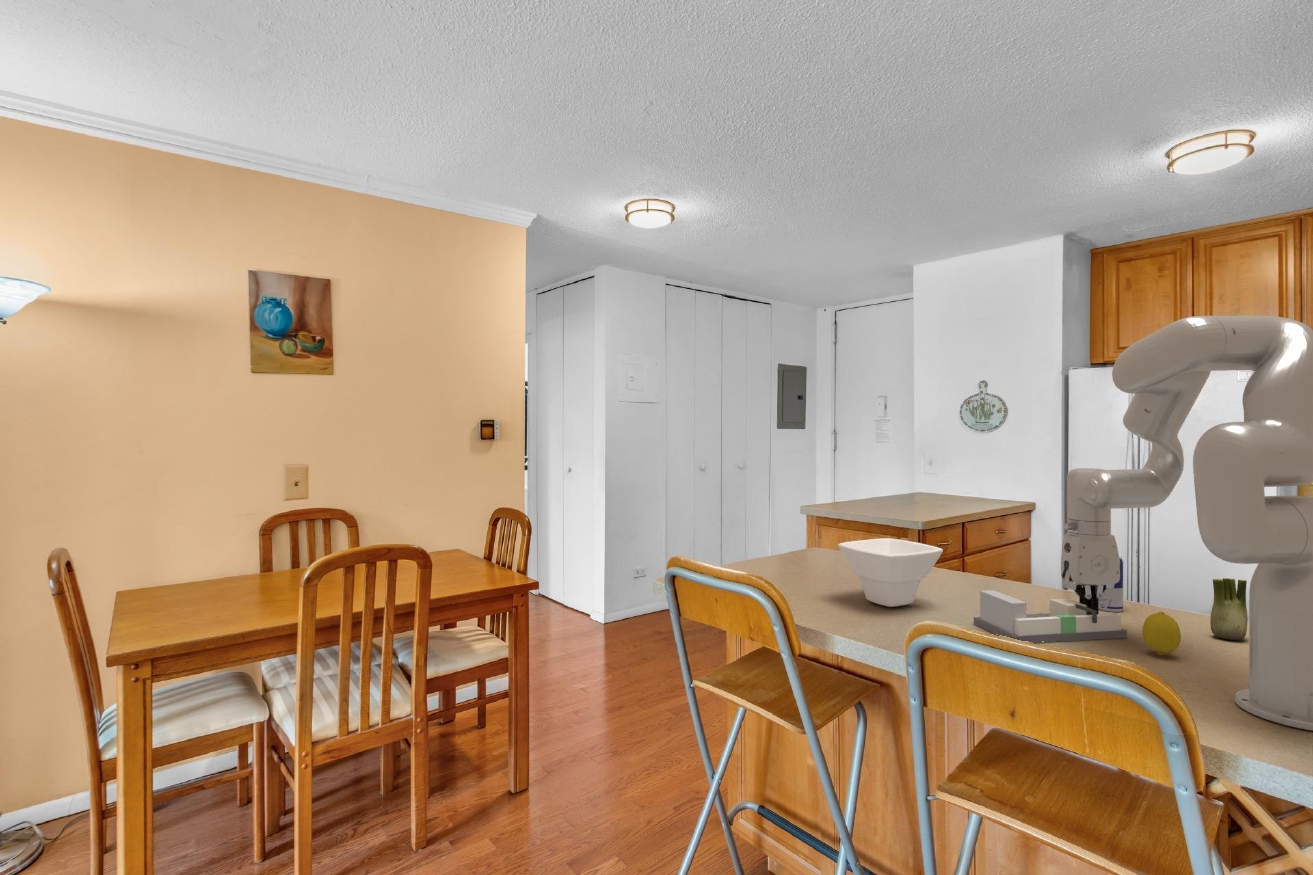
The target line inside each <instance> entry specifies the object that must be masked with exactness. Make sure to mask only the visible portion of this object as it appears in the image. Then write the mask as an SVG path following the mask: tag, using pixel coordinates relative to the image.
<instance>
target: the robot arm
mask: <svg viewBox="0 0 1313 875" xmlns="http://www.w3.org/2000/svg"><path fill="white" fill-rule="evenodd" d="M1111 371H1112V372H1111V375H1112V376H1111V377H1112V381H1113V384H1114V386H1115V387H1116V388H1117V389H1119V390H1120V391H1121V392H1122V393H1125V394H1134V395H1133V397H1132V399H1131V400H1130V403H1129V405H1128V407H1127V409H1126V410H1125V413H1124V415H1123V418H1122V423H1123V426H1124V427H1125V429H1127V430H1128V431H1129V432H1130V433H1132V435H1135V436H1137V437H1139V438H1140V439H1142V440H1145V441H1147V442H1149V443H1151V451H1150V454H1149V457H1148V458H1147V460H1146V462H1145V464H1144V466H1143V467H1142V468H1140V469H1139V468H1137V469H1133V468H1132V469H1131V468H1130V469H1102V468H1095V467H1094V468H1093V467H1091V468H1086V467H1085V468H1083V467H1082V468H1080V467H1079V468H1077V467H1076V468H1072V469H1070V470H1069V471H1068V472H1067V477H1066V478H1067V479H1066V484H1067V485H1066V491H1067V492H1066V493H1067V494H1066V495H1067V496H1066V509H1067V510H1066V514H1067V516H1066V517H1067V518H1066V523H1065V522H1064V523H1063V529H1064V530H1067V532H1066V533H1065V534H1064V538H1063V542H1062V549H1061V553H1060V554H1061V555H1060V556H1061V558H1060V575H1061V579H1063V584H1062V587H1063V588H1065V589H1067V590H1072V591H1073V592H1075V594H1076V596H1078V597H1079V599H1078V600H1079V601H1078V602H1079V603H1082V604H1085V605H1087V606H1088V608H1090V609H1093V610H1096V611H1097V614H1099V611H1100V610H1099V599H1100V598H1101V597H1102V593H1103V592H1104V591H1105V590H1106V589H1109V588H1112V587H1114V585H1115V583H1117V582H1119V580H1120V564H1119V557H1120V556H1119V555H1120V554H1119V549H1118V544H1117V540H1116V537H1115V535H1113V534H1112V517H1111V516H1112V512H1111V511H1112V509H1115V510H1116V509H1137V508H1138V509H1143V508H1144V509H1145V508H1146V509H1147V508H1154V507H1157V506H1159V505H1161V504H1162V503H1164V502H1165V501H1166V500H1167V499H1168V498H1169V496H1170V495H1171V494H1172V492H1173V491H1174V489H1175V487H1176V486H1177V484H1178V482H1179V481H1180V478H1181V477H1182V474H1183V471H1184V466H1185V459H1184V458H1185V457H1184V450H1183V446H1182V443H1181V441H1180V440H1179V437H1178V436H1179V433H1180V431H1181V428H1182V426H1183V425H1184V424H1185V421H1186V419H1187V418H1188V416H1189V414H1190V412H1191V410H1192V409H1193V407H1194V404H1195V403H1196V401H1197V399H1198V397H1199V396H1200V394H1201V392H1202V390H1203V388H1204V386H1205V385H1206V382H1207V380H1208V379H1209V377H1210V375H1211V372H1212V371H1215V372H1216V371H1217V372H1218V371H1219V372H1220V371H1223V372H1224V371H1251V372H1253V373H1252V374H1251V376H1250V377H1249V379H1248V380H1247V382H1246V385H1245V386H1244V389H1243V393H1242V408H1243V409H1242V410H1243V421H1232V422H1231V421H1230V422H1223V423H1219V424H1216V425H1214V426H1212V427H1210V428H1209V429H1207V430H1206V431H1205V432H1204V433H1203V434H1201V436H1200V438H1199V439H1198V441H1197V442H1196V444H1195V446H1194V447H1195V448H1194V450H1193V456H1192V469H1193V483H1194V484H1193V486H1194V493H1195V496H1194V497H1195V505H1196V518H1197V519H1196V520H1197V525H1198V526H1197V528H1198V531H1199V535H1200V538H1201V540H1202V542H1203V545H1204V546H1205V547H1206V549H1207V550H1208V551H1209V552H1210V553H1211V554H1212V555H1213V556H1215V557H1216V558H1218V559H1220V560H1222V561H1224V562H1228V563H1232V564H1238V565H1239V564H1240V565H1242V564H1243V565H1249V564H1250V565H1253V564H1254V565H1255V564H1257V566H1256V567H1255V570H1254V571H1253V574H1252V576H1251V579H1250V583H1249V591H1248V688H1243V689H1241V690H1238V691H1236V692H1235V694H1234V702H1235V703H1236V705H1237V706H1239V707H1240V708H1241V709H1242V710H1244V711H1246V712H1248V713H1250V714H1251V715H1254V716H1257V717H1259V718H1262V719H1264V720H1267V721H1270V722H1273V723H1277V724H1280V725H1283V726H1288V727H1291V728H1297V729H1302V730H1306V731H1313V497H1312V496H1304V495H1267V496H1266V495H1265V487H1266V488H1271V487H1272V488H1273V487H1277V488H1279V487H1296V486H1298V487H1299V486H1306V485H1308V484H1309V485H1310V484H1312V483H1313V328H1311V327H1310V326H1309V325H1308V324H1306V323H1303V322H1302V321H1299V320H1296V319H1292V318H1288V317H1282V316H1273V315H1245V314H1244V315H1196V316H1189V317H1184V318H1180V319H1178V320H1175V321H1174V322H1171V323H1170V324H1168V325H1165V326H1164V327H1162V328H1160V329H1158V330H1156V331H1154V332H1152V333H1150V334H1149V335H1147V336H1145V337H1143V338H1141V339H1140V340H1139V339H1138V341H1136V342H1134V343H1133V344H1131V345H1129V346H1128V347H1127V348H1125V349H1124V350H1123V351H1122V352H1121V353H1120V354H1119V355H1118V357H1116V360H1115V362H1114V364H1113V367H1112V370H1111ZM1088 615H1092V613H1090V612H1088Z"/></svg>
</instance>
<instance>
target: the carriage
mask: <svg viewBox="0 0 1313 875" xmlns="http://www.w3.org/2000/svg"><path fill="white" fill-rule="evenodd" d="M1088 612H1090V613H1092V623H1097V611H1096V610H1093V609H1090V608H1088V606H1087V605H1085V604H1082V603H1079V601H1075V600H1073V599H1070V598H1053V599H1051V598H1050V599H1049V613H1050V617H1056V615H1073V616H1076V615H1088Z"/></svg>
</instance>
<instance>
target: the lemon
mask: <svg viewBox="0 0 1313 875" xmlns="http://www.w3.org/2000/svg"><path fill="white" fill-rule="evenodd" d="M1141 632H1142V638H1143V640H1144V642H1145V644H1146V645H1147V647H1148V648H1150V649H1151V650H1153V651H1154V652H1156V653H1157V654H1158V655H1159V656H1165V655H1166V654H1169V653H1172V652H1175V651H1176V650H1177V649H1178V648H1179V647H1180V644H1181V640H1182V634H1181V633H1182V632H1181V629H1180V626H1179V623H1178V622H1177V621H1176V620H1175V619H1174V618H1173V617H1172V616H1170V615H1168V614H1166V613H1165V612H1163V611H1158V612H1156V613H1152V614H1150V615H1148V616H1147V617H1146V618H1145V620H1144V622H1143V625H1142V631H1141Z"/></svg>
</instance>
